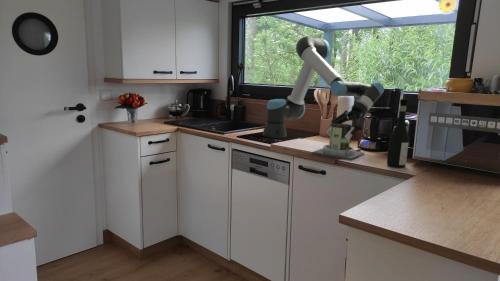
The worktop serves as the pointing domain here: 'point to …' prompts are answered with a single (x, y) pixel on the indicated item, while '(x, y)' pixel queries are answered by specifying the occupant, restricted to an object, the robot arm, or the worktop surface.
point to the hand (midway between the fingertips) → (336, 136)
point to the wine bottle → (399, 140)
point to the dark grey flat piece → (339, 153)
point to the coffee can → (339, 136)
